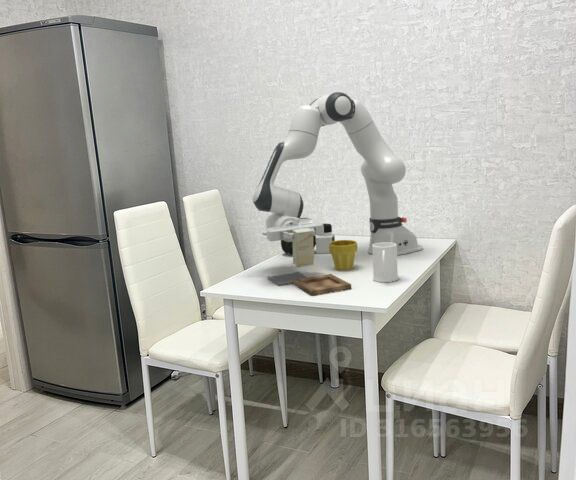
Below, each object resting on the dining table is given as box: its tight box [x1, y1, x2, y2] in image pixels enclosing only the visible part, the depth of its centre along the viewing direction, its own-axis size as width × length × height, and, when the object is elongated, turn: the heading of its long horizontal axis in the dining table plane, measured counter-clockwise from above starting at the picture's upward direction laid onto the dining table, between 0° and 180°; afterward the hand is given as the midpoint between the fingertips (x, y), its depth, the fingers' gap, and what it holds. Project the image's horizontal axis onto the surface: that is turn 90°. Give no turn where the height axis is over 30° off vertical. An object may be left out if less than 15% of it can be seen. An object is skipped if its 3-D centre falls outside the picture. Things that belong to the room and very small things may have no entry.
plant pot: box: [329, 239, 358, 271], centre depth 212 cm, size 10×10×10 cm
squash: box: [280, 235, 317, 256], centre depth 243 cm, size 14×15×15 cm
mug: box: [372, 242, 399, 283], centre depth 192 cm, size 12×8×12 cm
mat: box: [267, 271, 309, 287], centre depth 203 cm, size 12×12×1 cm
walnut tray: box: [292, 273, 352, 297], centre depth 191 cm, size 14×16×2 cm
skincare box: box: [292, 228, 315, 268], centre depth 194 cm, size 6×4×12 cm
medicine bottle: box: [315, 222, 336, 255], centre depth 242 cm, size 7×7×12 cm
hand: (303, 235), depth 193 cm, fingers closed on skincare box, 6 cm apart
